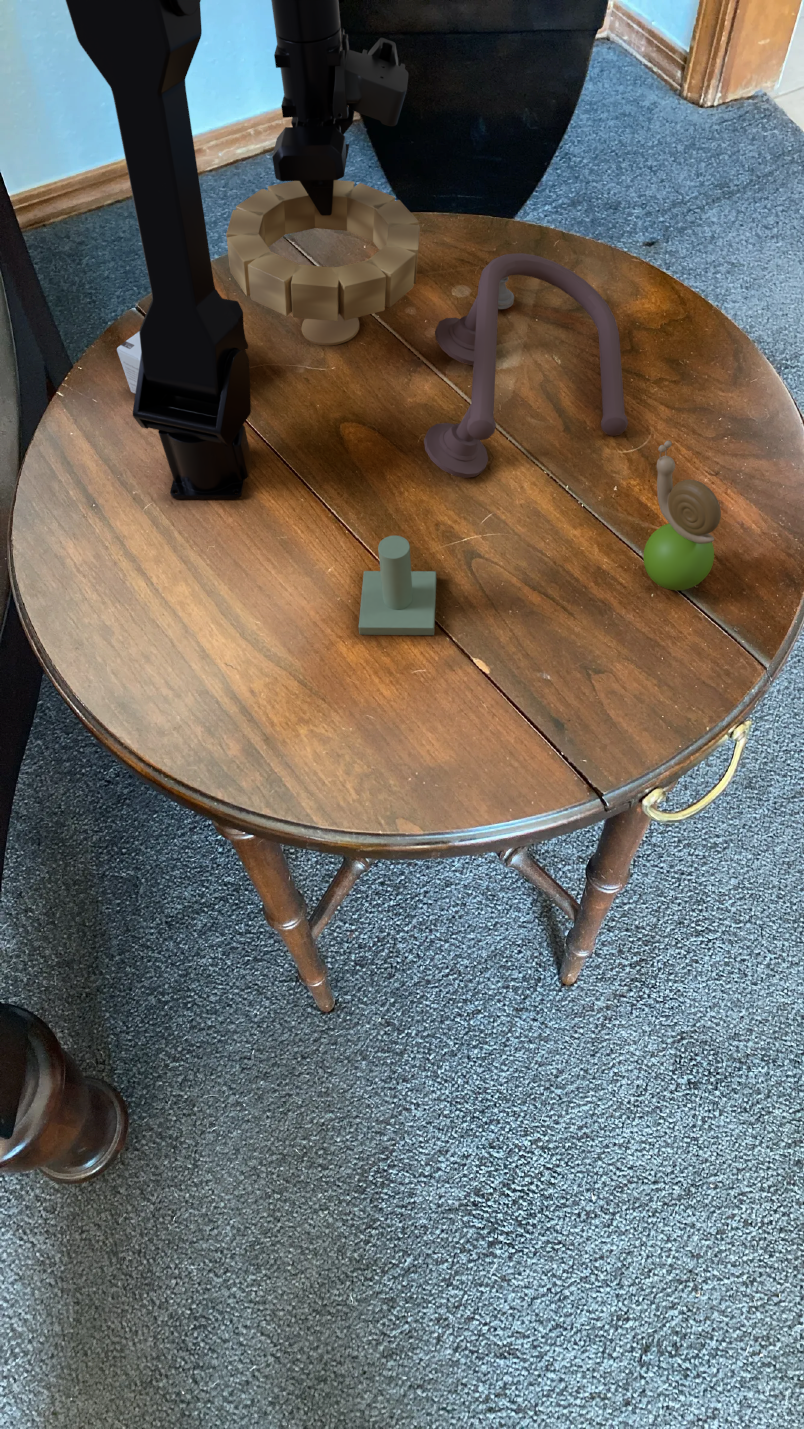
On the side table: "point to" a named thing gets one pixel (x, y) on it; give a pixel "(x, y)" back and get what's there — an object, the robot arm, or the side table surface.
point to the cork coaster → (330, 330)
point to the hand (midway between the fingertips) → (327, 205)
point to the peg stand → (397, 594)
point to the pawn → (504, 295)
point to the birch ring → (320, 286)
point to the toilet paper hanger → (477, 346)
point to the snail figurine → (681, 530)
